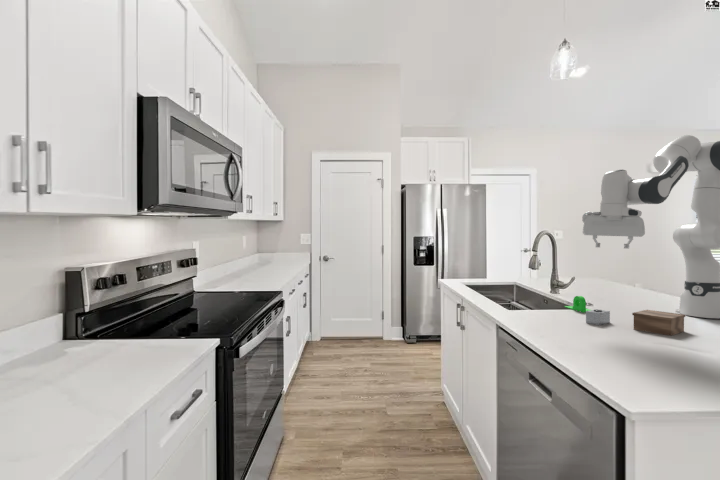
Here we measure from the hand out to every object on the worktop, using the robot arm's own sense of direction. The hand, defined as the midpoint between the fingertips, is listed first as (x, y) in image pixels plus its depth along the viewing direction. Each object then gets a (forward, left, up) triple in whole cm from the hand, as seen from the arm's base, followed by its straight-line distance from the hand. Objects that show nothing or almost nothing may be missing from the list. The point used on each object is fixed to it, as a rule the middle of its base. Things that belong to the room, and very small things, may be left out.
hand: (611, 247), depth 156 cm
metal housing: (+3, -4, -30) cm, 30 cm away
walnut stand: (-3, +14, -29) cm, 33 cm away
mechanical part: (-15, -21, -30) cm, 39 cm away
